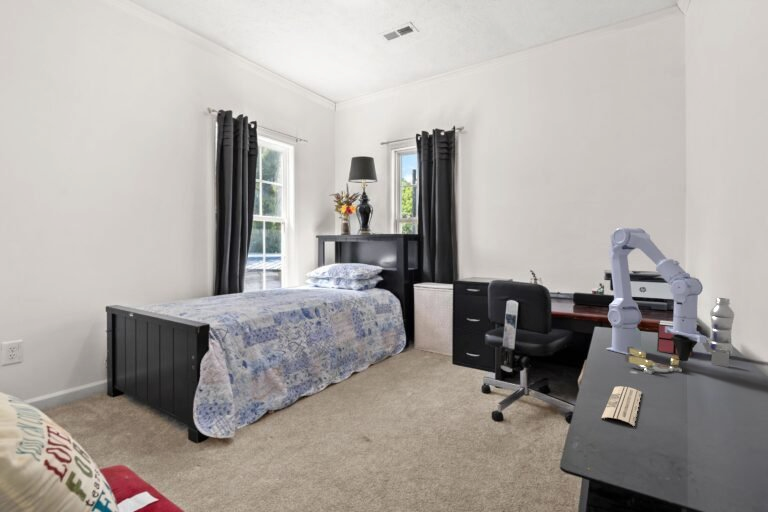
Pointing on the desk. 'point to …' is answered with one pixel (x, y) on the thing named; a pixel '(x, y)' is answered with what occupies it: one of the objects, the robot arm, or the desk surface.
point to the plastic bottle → (721, 325)
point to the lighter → (718, 355)
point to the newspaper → (623, 404)
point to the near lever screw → (636, 352)
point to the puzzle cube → (666, 339)
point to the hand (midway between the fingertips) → (683, 360)
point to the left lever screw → (675, 360)
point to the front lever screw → (639, 361)
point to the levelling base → (660, 368)
